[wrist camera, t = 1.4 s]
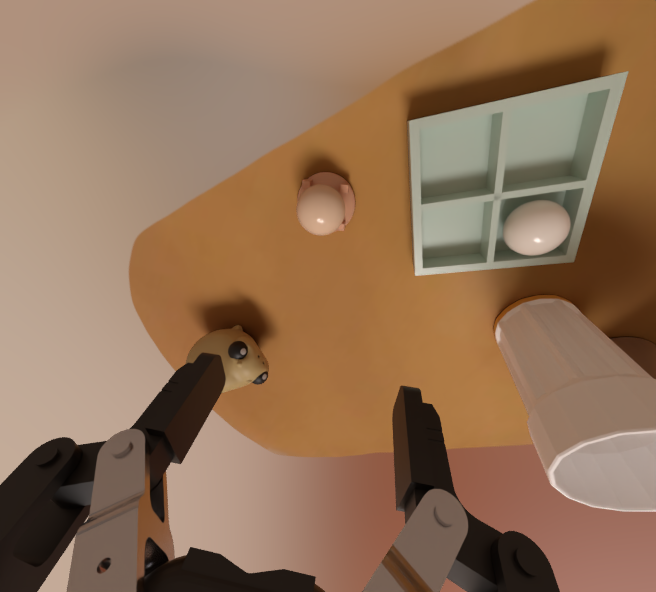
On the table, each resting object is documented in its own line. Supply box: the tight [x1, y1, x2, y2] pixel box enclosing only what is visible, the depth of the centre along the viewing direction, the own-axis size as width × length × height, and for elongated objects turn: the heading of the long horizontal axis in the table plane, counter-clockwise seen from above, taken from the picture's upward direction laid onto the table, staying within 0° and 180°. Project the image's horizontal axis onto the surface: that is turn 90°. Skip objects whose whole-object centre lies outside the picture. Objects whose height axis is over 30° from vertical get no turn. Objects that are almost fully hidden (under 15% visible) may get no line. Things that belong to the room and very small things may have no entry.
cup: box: [493, 295, 656, 512], centre depth 27 cm, size 11×11×17 cm
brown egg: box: [296, 184, 346, 235], centre depth 28 cm, size 5×5×5 cm
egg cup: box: [297, 172, 355, 232], centre depth 30 cm, size 6×6×2 cm
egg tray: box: [407, 72, 628, 276], centre depth 26 cm, size 15×15×3 cm
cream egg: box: [502, 200, 571, 256], centre depth 25 cm, size 5×5×5 cm
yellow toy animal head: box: [186, 325, 269, 393], centre depth 40 cm, size 10×12×11 cm
